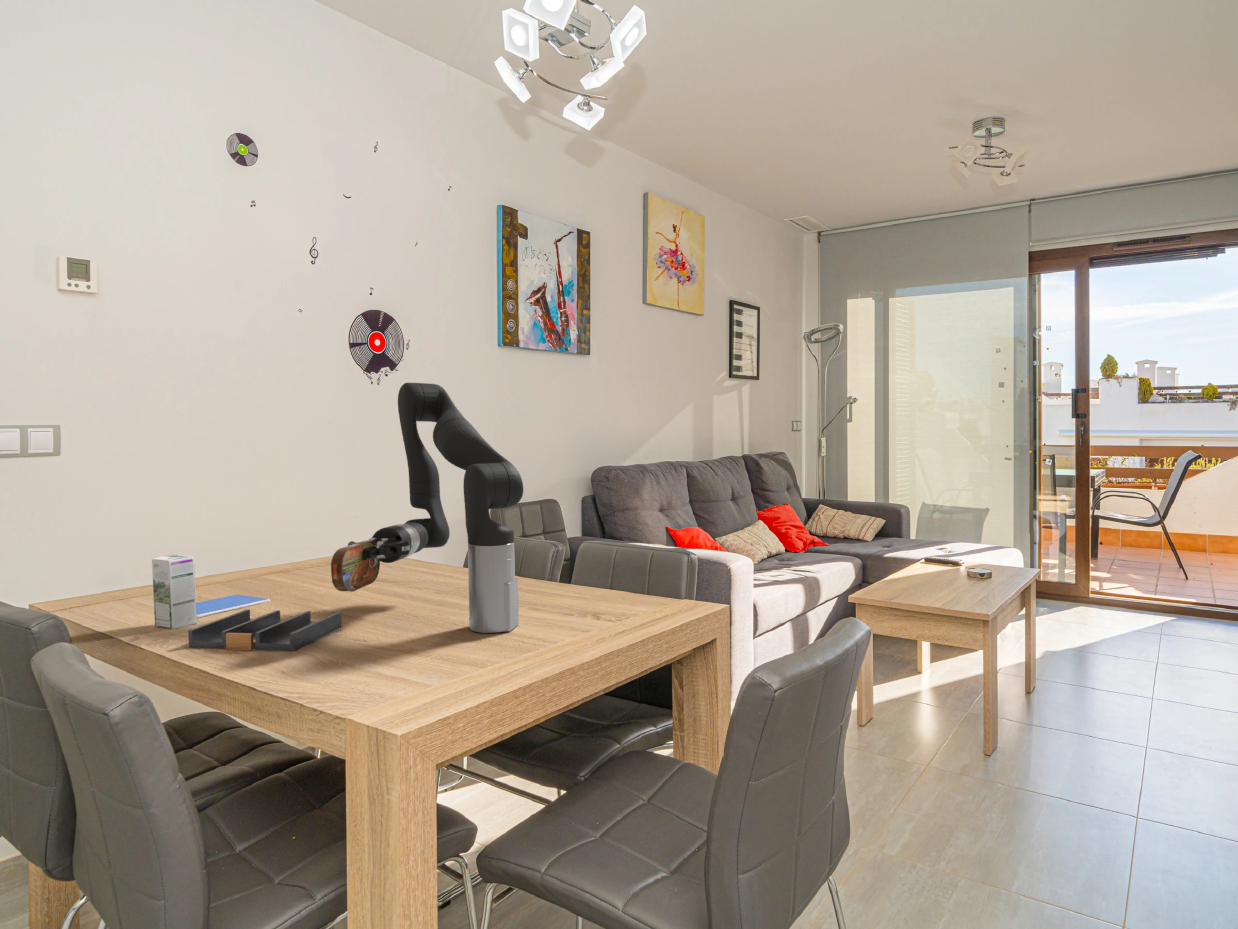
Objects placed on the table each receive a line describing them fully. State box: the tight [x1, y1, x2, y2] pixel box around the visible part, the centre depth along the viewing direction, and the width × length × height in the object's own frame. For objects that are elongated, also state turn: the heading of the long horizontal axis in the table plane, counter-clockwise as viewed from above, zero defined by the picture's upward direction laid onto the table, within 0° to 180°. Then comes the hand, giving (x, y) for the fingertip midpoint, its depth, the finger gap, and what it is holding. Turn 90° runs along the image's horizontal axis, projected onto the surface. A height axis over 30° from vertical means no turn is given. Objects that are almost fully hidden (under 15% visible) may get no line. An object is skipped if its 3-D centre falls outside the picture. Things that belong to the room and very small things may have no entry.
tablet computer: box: [196, 594, 271, 619], centre depth 175 cm, size 19×13×1 cm, turn 154°
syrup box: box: [151, 554, 198, 630], centre depth 157 cm, size 6×6×14 cm
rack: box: [187, 609, 343, 652], centre depth 147 cm, size 21×18×3 cm
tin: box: [330, 541, 381, 593], centre depth 146 cm, size 15×3×8 cm, turn 171°
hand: (357, 554), depth 146 cm, fingers closed on tin, 2 cm apart
